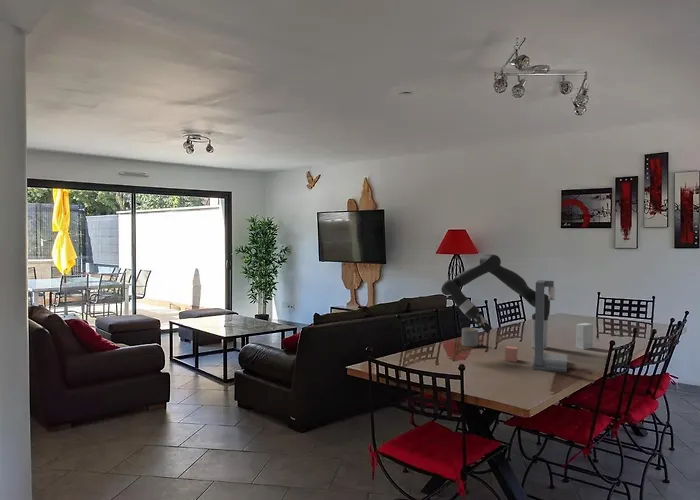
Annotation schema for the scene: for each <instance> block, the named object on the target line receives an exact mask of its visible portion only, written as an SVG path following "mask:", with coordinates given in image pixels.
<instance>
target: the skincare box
mask: <svg viewBox="0 0 700 500" xmlns="http://www.w3.org/2000/svg"><path fill="white" fill-rule="evenodd" d="M575 325H576V326H575V348H576V349H579V350H588V349H592V348H593V338H594V337H593V334H594V332H593V331H594V330H593V329H594V324H592V323H588V322H582V323H576V324H575Z"/></svg>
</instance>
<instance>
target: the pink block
mask: <svg viewBox="0 0 700 500" xmlns="http://www.w3.org/2000/svg"><path fill="white" fill-rule="evenodd" d="M518 354H519V347H518V346H508V345H505V348H504V361H505V362H512V363H513V362H515V363H516V362H518V359H519V357H518Z"/></svg>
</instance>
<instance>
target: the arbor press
mask: <svg viewBox="0 0 700 500" xmlns="http://www.w3.org/2000/svg"><path fill="white" fill-rule="evenodd" d="M554 284H555V282H554V280H539V279H538V280H536V282H535V292H536V300H535V307H534V308H535V312H534V314H535V348H534V356H533V363H532V367H531V368H532V370H538V371H547V372H549V371H550V372H557V373H567V371H568V370H567V368H568V354H561V353H553V352H552V353H551V352H550V353H549V352H544V350H545V349H544V294H545V288H548V292H547V293H548V294H547V295H548V300H550V301H555V296H556V295H555V293H556V291H555V290H556V289H555V285H554Z"/></svg>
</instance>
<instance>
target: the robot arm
mask: <svg viewBox="0 0 700 500" xmlns="http://www.w3.org/2000/svg"><path fill="white" fill-rule="evenodd" d="M501 263H502V261H501V258H500V256H498V255H496V254H484V255H482V256H481V257H480V258H479V264H477V265H476V266H474V267H471V268H468V269H466V270H464V271H463V272H461V273H459V274H457V275H456V276H455V277H454V278H453V279H452V280H451V279H449V280H446V281H445V282H444V283H443V284H442V286H441V289H440V290H441V293H442V294H443V295H445V296H451V297H452V301H453V303H454V304H455V305H456V306H457V308H459V309H460V311H461V312H462V313H463V314H464V315H465V316H466V317H467V318H468V320H472V321H473V322H474V323H475V324H476V325H477V327H478V329H482V330H483V332H485V333H486V334H489V333H490V332H491V330H493V327H492V326H491V325H490V324H489V323H488V320H487V319H486V318H485V317H484V316H483V315H482V314H481V313H480V309H479V308H478V307H477V306H476V305H475V304H474V303H473V302H472V301H471V300H470V299H469V298H468V297H467V296H466V295H465V294H463V292H462V290H461V288H462V287H465V286H466V285H468V284H469V283H471V282H472V281H474V280H476V279H478V278H480V277H481V276H483V275H486V274H487V273H490V274H491V275H493V276H494V277H496V278H497V279H498V280H499V281H500V282H502V283H503V284H504V285H505V286H507V287H508V288H509V289H511V291H513V292H515V293H516V294H517V295H519V296H520V297H522V298H523V299H524V300H525V301H526V302H527V303H528V304H529V305H530V306H532V307H533V308H535V300H536V290H534V289H532V288H531V287H530V286H529V285H528V283H527V281H525V279H524V278H523V277H522V276H520V275H519V274H518V273H517V272H515V271H513V270H510V269H508V268H507V267H504V266H502V265H501ZM550 311H551V300H548V294H546V293H544V350H545V349H548V345H549V343H548V339H549V338H548V337H549V336H548V335H549V334H548V333H549V329H548V328H549V316H550ZM479 313H480V314H479ZM531 348H532V349H533V348H534V349H535V313H532V315H531Z"/></svg>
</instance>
